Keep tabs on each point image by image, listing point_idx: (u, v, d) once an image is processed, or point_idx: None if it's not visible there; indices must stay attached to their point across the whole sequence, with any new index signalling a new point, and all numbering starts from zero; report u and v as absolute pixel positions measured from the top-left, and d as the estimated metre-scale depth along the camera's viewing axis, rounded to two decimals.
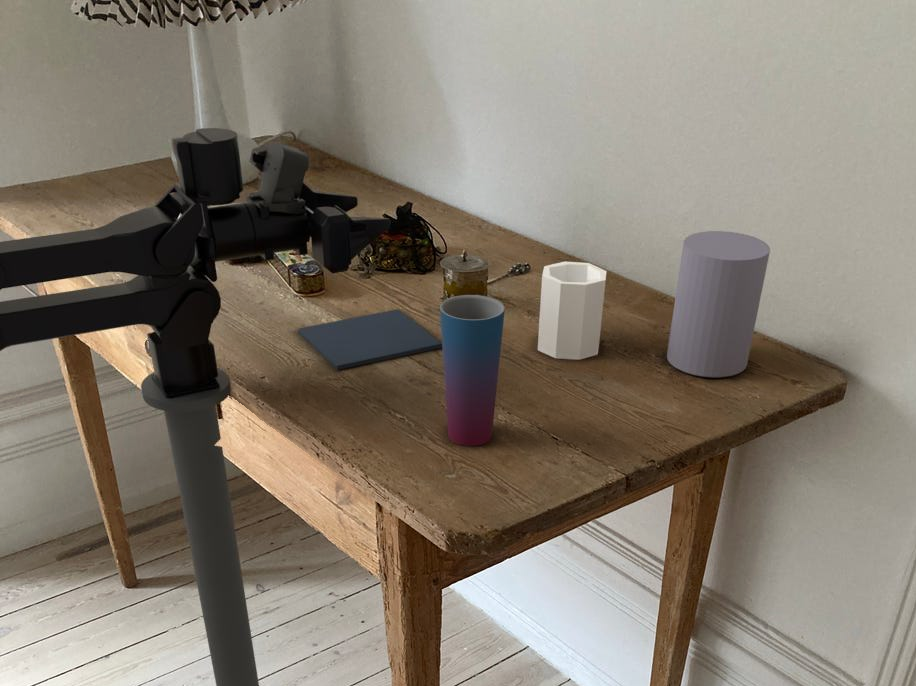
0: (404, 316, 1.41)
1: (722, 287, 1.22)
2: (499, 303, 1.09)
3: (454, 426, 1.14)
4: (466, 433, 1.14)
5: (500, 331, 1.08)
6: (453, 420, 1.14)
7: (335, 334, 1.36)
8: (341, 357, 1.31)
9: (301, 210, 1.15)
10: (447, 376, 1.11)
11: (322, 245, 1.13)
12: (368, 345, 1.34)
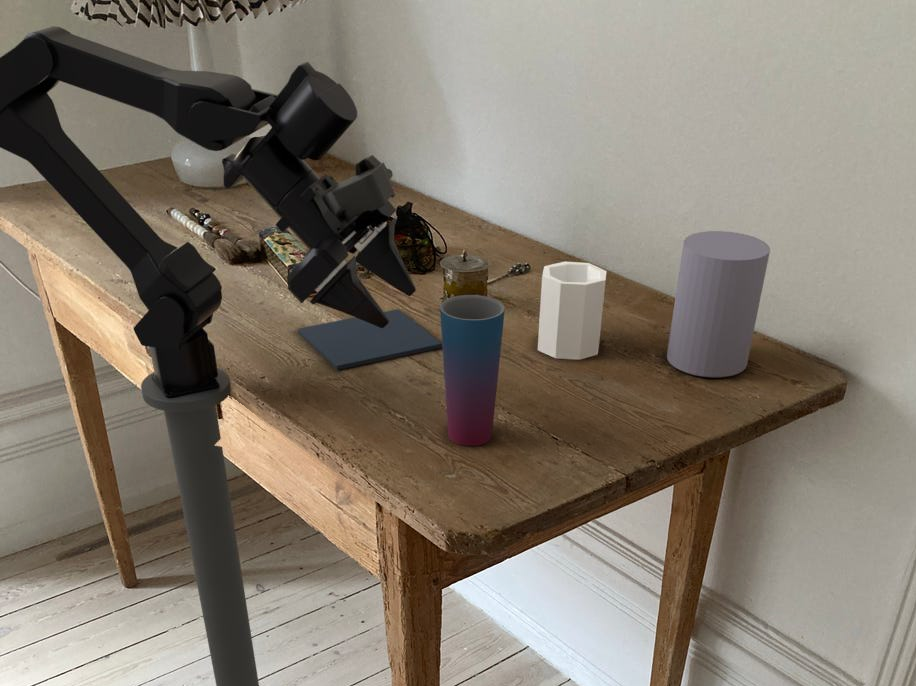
0: (404, 316, 1.41)
1: (722, 287, 1.22)
2: (499, 303, 1.09)
3: (454, 426, 1.14)
4: (466, 433, 1.14)
5: (500, 331, 1.08)
6: (453, 420, 1.14)
7: (335, 334, 1.36)
8: (341, 357, 1.31)
9: (335, 229, 1.03)
10: (447, 376, 1.11)
11: (301, 261, 1.00)
12: (368, 345, 1.34)
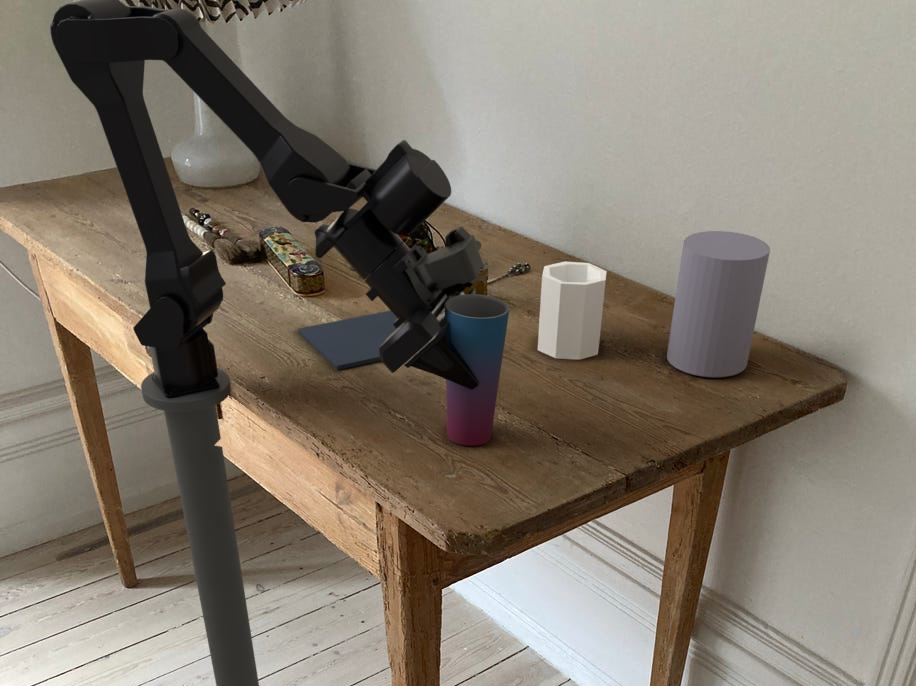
0: None
1: (722, 287, 1.22)
2: (504, 303, 1.09)
3: (454, 425, 1.14)
4: (466, 432, 1.14)
5: (504, 330, 1.08)
6: (453, 419, 1.14)
7: (335, 334, 1.36)
8: (341, 357, 1.31)
9: (426, 300, 1.05)
10: None
11: (394, 334, 1.02)
12: (368, 345, 1.34)
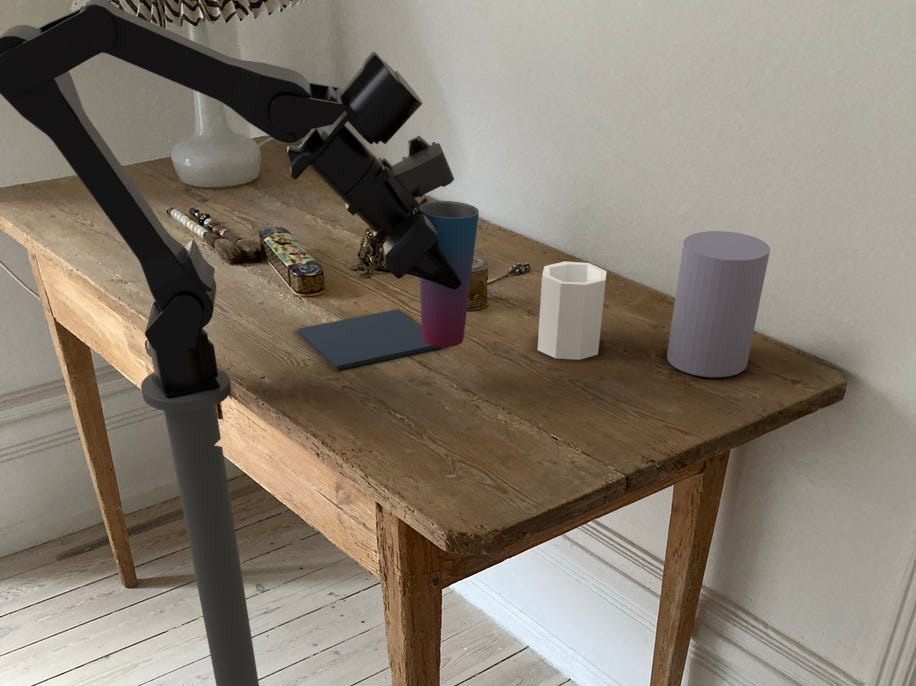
0: (404, 316, 1.41)
1: (722, 287, 1.22)
2: (467, 205, 1.17)
3: (435, 329, 1.21)
4: (448, 334, 1.21)
5: (476, 229, 1.16)
6: (434, 322, 1.20)
7: (335, 334, 1.36)
8: (341, 357, 1.31)
9: (409, 207, 1.11)
10: None
11: (400, 239, 1.07)
12: (368, 345, 1.34)
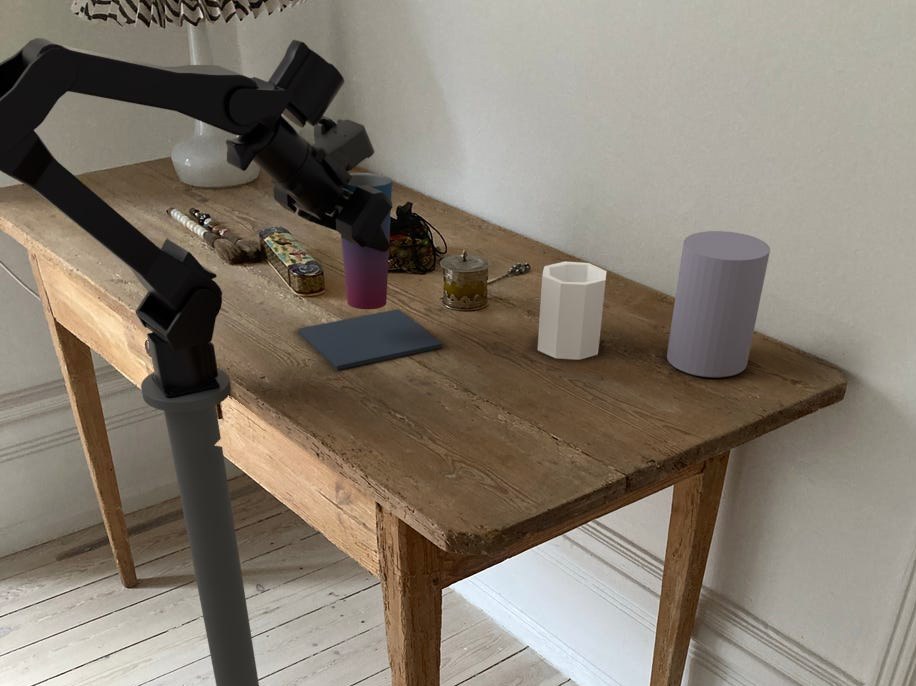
0: (404, 316, 1.41)
1: (722, 287, 1.22)
2: (371, 174, 1.27)
3: (368, 293, 1.30)
4: (379, 295, 1.31)
5: None
6: (368, 287, 1.29)
7: (335, 334, 1.36)
8: (341, 357, 1.31)
9: (345, 181, 1.19)
10: (361, 247, 1.26)
11: (362, 209, 1.16)
12: (368, 345, 1.34)
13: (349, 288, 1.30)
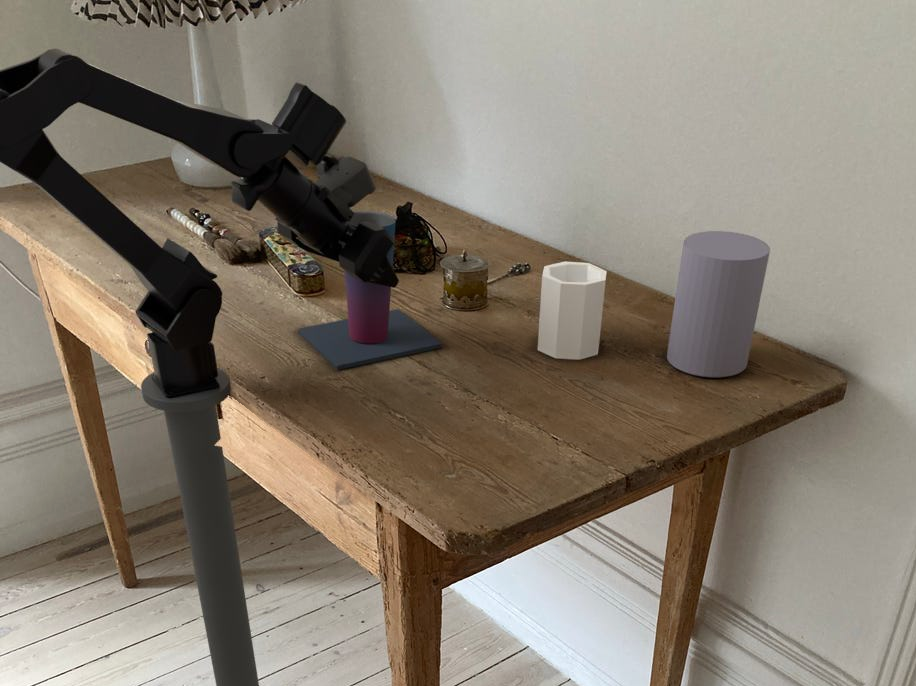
0: (404, 316, 1.41)
1: (722, 287, 1.22)
2: (374, 212, 1.29)
3: (371, 328, 1.33)
4: (381, 330, 1.34)
5: None
6: (370, 322, 1.32)
7: (335, 334, 1.36)
8: (341, 357, 1.31)
9: (347, 217, 1.22)
10: (364, 284, 1.29)
11: (364, 246, 1.19)
12: (368, 345, 1.34)
13: (352, 322, 1.33)
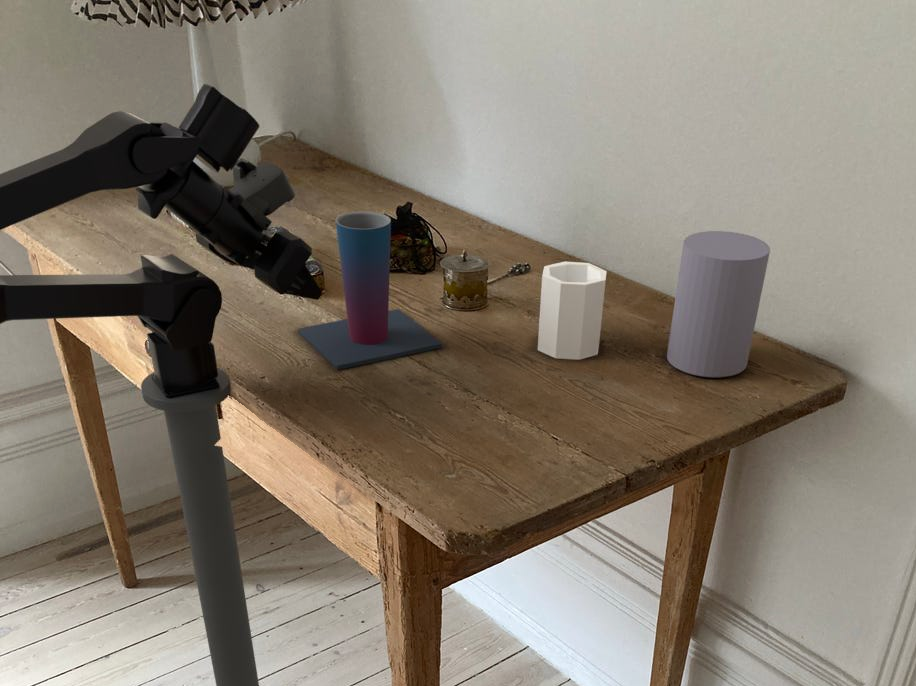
0: (404, 316, 1.41)
1: (722, 287, 1.22)
2: (370, 212, 1.29)
3: (370, 329, 1.33)
4: (381, 330, 1.34)
5: None
6: (369, 323, 1.32)
7: (335, 334, 1.36)
8: (341, 357, 1.31)
9: (264, 226, 1.16)
10: (362, 286, 1.29)
11: (279, 256, 1.13)
12: (368, 345, 1.34)
13: (351, 324, 1.33)
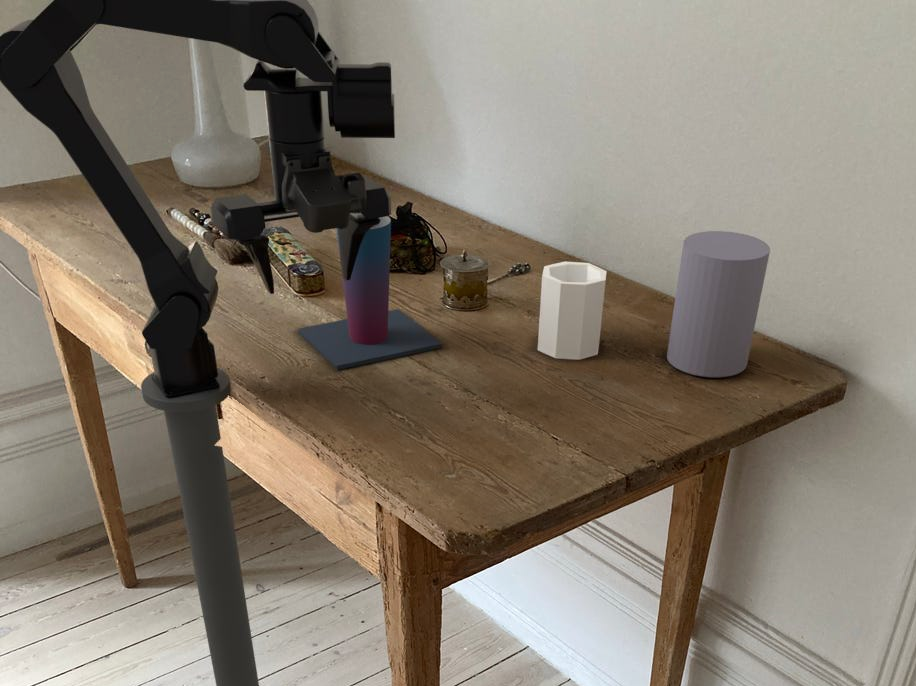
0: (404, 316, 1.41)
1: (722, 287, 1.22)
2: None
3: (370, 329, 1.33)
4: (381, 330, 1.34)
5: None
6: (369, 323, 1.32)
7: (335, 334, 1.36)
8: (341, 357, 1.31)
9: (283, 202, 1.07)
10: (362, 286, 1.29)
11: (223, 204, 1.06)
12: (368, 345, 1.34)
13: (351, 324, 1.33)
